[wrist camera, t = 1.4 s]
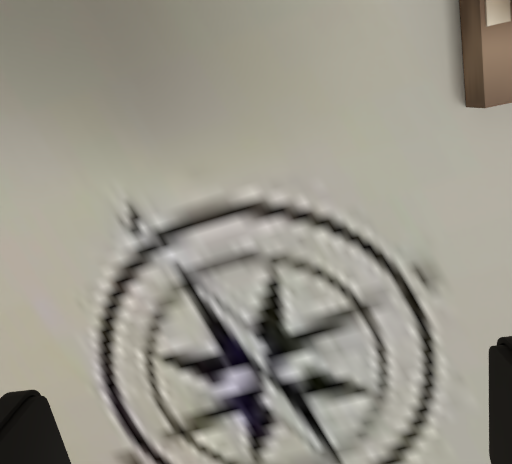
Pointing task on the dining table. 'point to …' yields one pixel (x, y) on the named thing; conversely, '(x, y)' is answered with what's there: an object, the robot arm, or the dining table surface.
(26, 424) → the robot arm
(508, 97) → the switch base
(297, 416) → the dining table surface
